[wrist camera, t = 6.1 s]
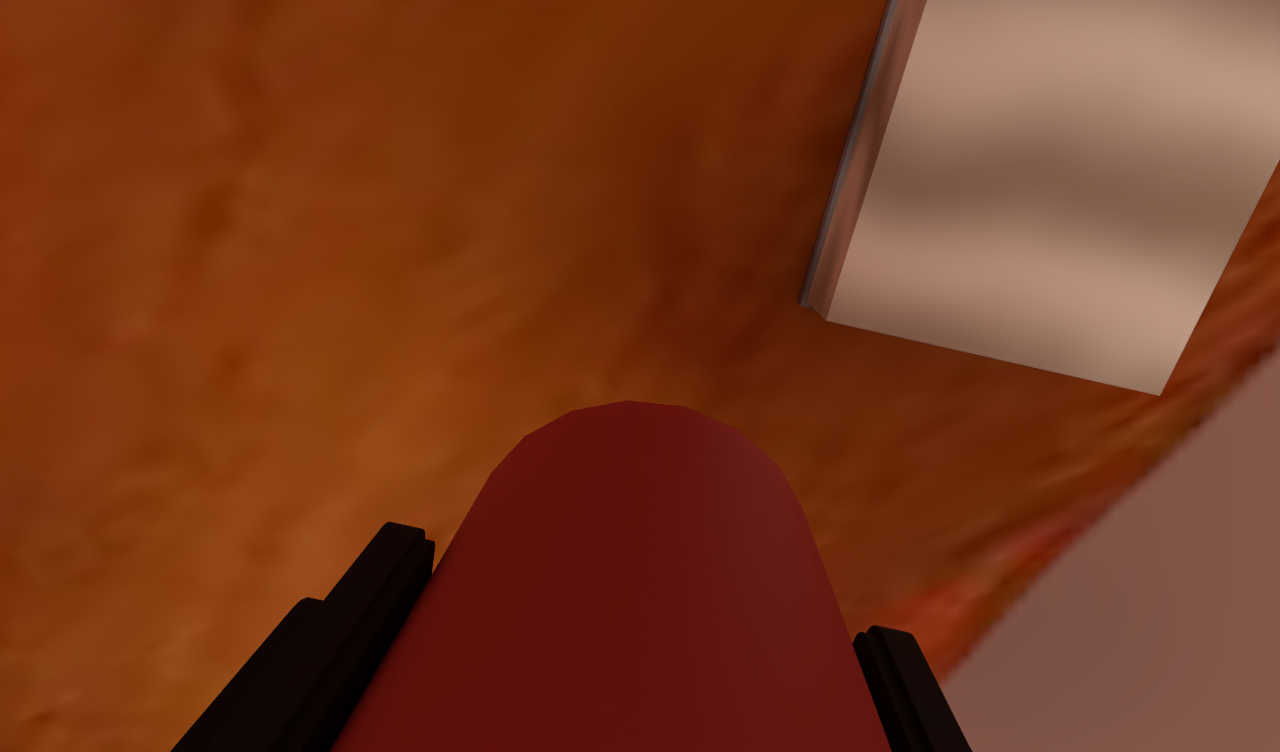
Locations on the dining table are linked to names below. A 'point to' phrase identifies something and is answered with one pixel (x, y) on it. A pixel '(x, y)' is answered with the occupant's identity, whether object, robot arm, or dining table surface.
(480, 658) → the beer can
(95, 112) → the dining table surface
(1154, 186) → the stand
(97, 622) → the dining table surface
